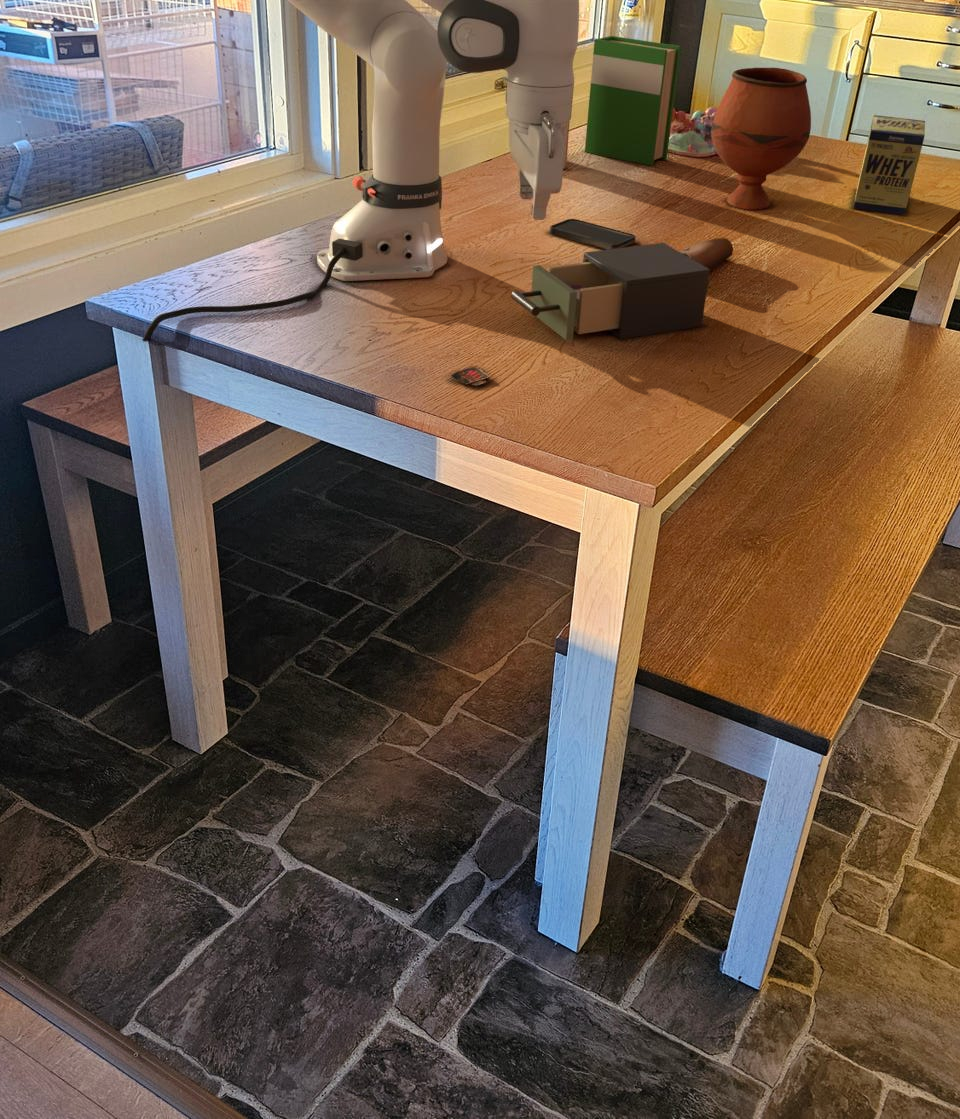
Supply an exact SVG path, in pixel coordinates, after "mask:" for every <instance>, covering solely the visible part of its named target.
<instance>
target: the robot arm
mask: <svg viewBox="0 0 960 1119" xmlns="http://www.w3.org/2000/svg"><path fill="white" fill-rule="evenodd" d="M287 1H288V2H289V3H290V4H291V5H292V6H294V7H295V8H296V9H297V10H298V11H300V12H301V13H302V14H303V15H304V16H305V17H307V18H308V19H309V20H311V21H312V22H313V24H315V25H316V26H318V27H319V28H320V29H321V30H323V31H324V32H325V33H326V34H328V35H330V36H331V37H333V38H334V39H335V40H337V41H338V42H340V43H341V44H342V45H344V46H345V47H346V48H348V49H349V50H350V51H351V52H353V53H354V54H355V55H356V56H358V57H359V58H361V59H362V60H363V61H365V62H366V63H367V64H368V65H370V67H371V68H373V70H374V71H373V72H374V82H373V84H374V85H373V87H374V88H373V89H374V91H373V112H372V124H371V141H372V142H371V145H372V146H371V147H372V174H371V176H369V178H368V179H367V180H366V179H365V178H364V177H362V176H360V175H357V176H355V177H354V179H352V186H353V187H354V188H355V189H357V191H359V192H361V194H362V199H361V200H360V201H358V202H357V203H356V204H355V205H354V206H353V207H352V208H350V210H348V211H347V212H346V213H345V214H344V215H342V216H341V217H340V218H339V219H337V220H336V221H335V222H334V224H333V226H332V228H331V231H330V237H329V245H328V246H329V247H328V248H324V249H321V250H319V251H318V252H317V255H316V263H317V265H318V267H319V268H320V269H321V270H322V271H323V273H325V275H324V277H323V278H322V280H321V282H320V283H319V285H318V286H317V287H316V288H314V290H312V291H309V292H305V293H301V294H299V295H295V296H292V297H289V298H284V299H281V300H275V301H268V302H259V303H252V304H243V305H222V306H220V305H205V306H202V305H201V306H190V307H185V308H181V309H177V310H173V311H168V312H164V313H161V314H159V315H157V316H156V317H154V319H153V320H152V321H151V323H150V324H149V326H148V328H147V329H146V331H145V333H144V335H143V337H142V341H143V342H147V341H150V340H151V338H152V336H153V334H154V332H155V330H156V329H157V327H158V326H159V325H160V324H161V323H162V322H164V321H166V320H169V319H173V318H177V317H182V316H185V315H186V316H187V315H191V314H199V313H241V312H250V311H260V310H267V309H273V308H279V307H284V306H289V305H294V304H297V303H299V302H302V301H305V300H309V299H311V298H313V297H315V296H316V295H317V294H318V293H319V292H320V291H321V290H322V289H324V288H326V286H327V284H328V283H329V281H330V280H331V278H334V279H336V280H339V281H344V282H358V281H359V282H360V281H377V280H395V279H397V280H398V279H399V280H400V279H415V278H417V279H418V278H429V277H432V276H433V275H434V273H435V271H436V270H438V269H440V268H442V267H443V266H445V265H446V264H447V263H448V260H449V259H448V255H447V252H446V247H445V244H444V238H443V232H442V223H441V222H442V221H441V210H442V202H443V184H442V182H443V181H442V180H443V179H442V177H441V175H440V147H441V146H440V144H441V143H440V142H441V141H440V140H441V139H440V138H441V137H440V135H441V121H442V114H443V113H442V112H443V105H444V97H445V85H446V75H447V74H446V73H447V72H446V70H447V62H448V63H449V64H450V65H451V66H452V67H454V68H455V69H457V70H459V71H461V72H464V73H469V74H482V73H486V72H493V71H494V72H495V71H501V70H504V71H505V72H506V73H507V83H506V84H507V86H506V87H507V88H506V90H505V116H506V118H508V142H509V151H510V156H511V158H512V159H513V160H514V162H515V163H516V165H517V171H518V182H519V187H518V188H519V189H518V195H519V197H520V198H521V199H522V200H532V199H533V200H532V203H531V210H530V212H531V213H530V214H531V216H532V218H533V220H535V221H543V220H546V218H547V208H548V205H549V202H550V199H551V195H554V194H555V195H556V194H559V193H560V192H561V189H562V186H563V178H564V169H563V158H564V140H563V135H562V133H561V132H560V131H561V124H562V123H566V122H568V121H571V120H572V111H573V103H574V102H573V100H574V89H575V75H574V58H575V55H576V51H577V49H578V44H579V31H580V0H420V1H421V2H423V3H425V4H426V5H428V6H429V7H431V8H433V9H434V10H436V11H437V12H439V13H440V16H439V19H438V23H437V29H436V28H435V27H434V26H433V25H432V24H431V22H429V21H428V19H427V18H426V17H425V16H424V15H423V13H421V12H420V11H419V10H418V9H417V8H415V7H414V6H413V5H412V4H411V3H409V2H408V1H407V0H287Z"/></svg>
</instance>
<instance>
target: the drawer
mask: <svg viewBox="0 0 960 1119" xmlns="http://www.w3.org/2000/svg"><path fill="white" fill-rule="evenodd" d="M577 285H580V286H581V287H583V288H582V289H580V297H579V309H578V320H577V319H576V318H575V310H576V298H577V292H576V291H575V290H574V289H572V288H571V287H570V286H577ZM623 287H624V284H623V283H621V282H620V281H618V280H617V279H615V278H614V277H612V276H611V275H609V274H608V273H606V272H605V271H603V270H602V269H600V268H599V267H597V266H596V265H594V264H593V263H591V262H584V263H583V262H577V263H570V264H562V265H561V264H560V265H553V266H549V269H548V270H547V269H546V268H545V267H543V266H542V265H540V264H537V265H532V277H531V289H530V291H525V292H520V291H519V290H513V291H512V292H511V294H510V297H511V299H512V300H513V301H515V302H516V303H517V304H518V305H519V306H520V307H522V308H523V309H525V310H526V311H527V312H528V313H530V314H531V315H532V316H533V317H536V318H537V319H539V320H540V321H541V322H542V323H544V324H545V325H546V326H547V327H548V328H550V329H551V330H552V331H553V332H555V333H556V334H558V335H559V336H560V337H561V338H563V339H564V340H565V341H570V340H573V339H574V332H575V333H576V334H578V335H584V334H589V333H596V332H602V331H609V330H610V329H616V328H619V323H620V314H621V305H622V296H623ZM529 298H530V299H529Z"/></svg>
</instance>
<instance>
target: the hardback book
mask: <svg viewBox="0 0 960 1119" xmlns="http://www.w3.org/2000/svg"><path fill="white" fill-rule="evenodd" d="M681 50H682V46H681V45H676V44H670V43H663V42H657V41H656V42H655V41H649V40H644V39H643V40H642V39H637V38H636V39H635V38H630V37H622V36H616V35H608V36H604V37H600V38H599V37H598V38H595V39H594V41H593V53H592V64H591V73H590V74H591V75H590V76H591V78H590V87H589V88H590V89H589V99H588V109H587V110H588V111H587V122H586V132H585V145H584V152H585V153H590V154H594V155H599V156H604V157H609V158H612V159H618V160H622V161H628V162H633V163H637V164H642V165H646V166H654V162H655V160H663V161H667V160H668V153H669V152H668V145H669V137H670V129H671V127H672V123H671V121H672V114H673V108H674V104H675V97H676V89H677V82H678V73H679V66H680V59H681Z"/></svg>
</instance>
